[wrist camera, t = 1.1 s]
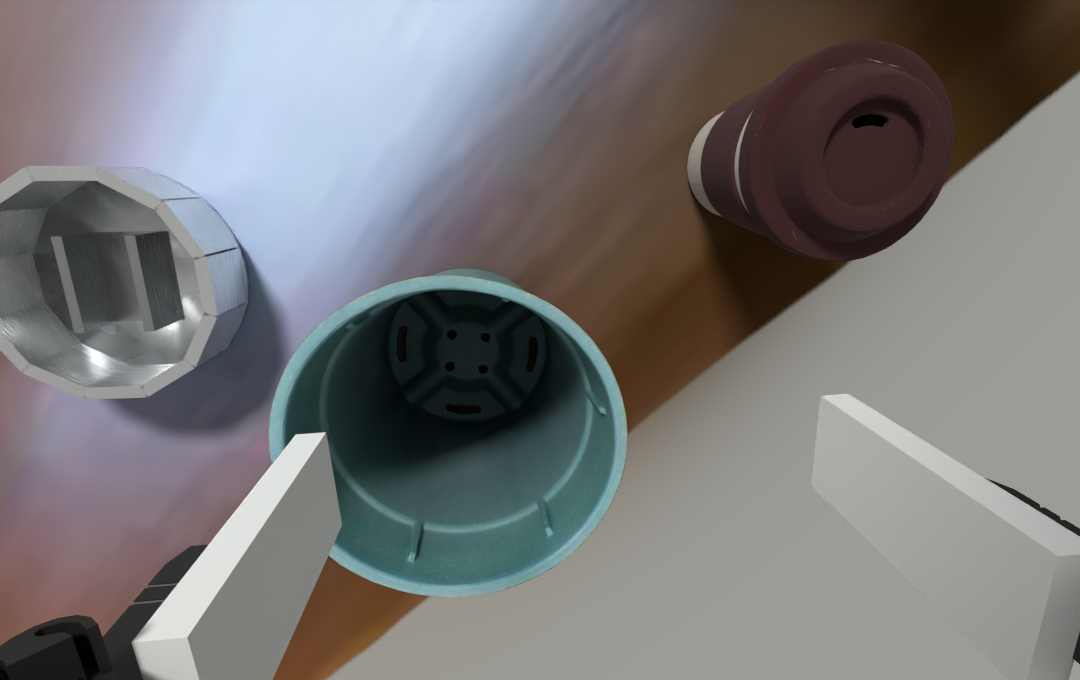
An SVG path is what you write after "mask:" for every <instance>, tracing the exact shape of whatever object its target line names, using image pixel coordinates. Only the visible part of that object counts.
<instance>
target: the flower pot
mask: <svg viewBox="0 0 1080 680" xmlns="http://www.w3.org/2000/svg"><path fill="white" fill-rule="evenodd" d="M401 326H405V327H406V328H407V330H408V331H407V336H406V344H405V353H406V360H405V361H404V362H400V361H399V360H398V358H397V336H398V331H399V328H400V327H401ZM449 330H455V331H456V333H457V336H456V338H454V339H449V338H448V337H447V332H448V331H449ZM483 333H488V334H490V335H491V339H490V340H489V341H487V342H485V341H483V340H482V339H481V335H482V334H483ZM532 337H535V338H536V339H537V346H538V352H537V360H536V364H535V367H534V369H533V371H531V372H529V371H527V370H526V366H527V363H528V358H529V340H530V338H532ZM447 362H453V363H454V365H455V367H454V369H453V370H452V371H447V370H446V369H445V364H446V363H447ZM481 365H486V366H487V367H488V371H487V372H486V373H484V374H483V373H480V372H479V370H478V368H479V367H480V366H481ZM447 404H452V405H459V406H480V408H481V412H479V413H470V414H460V413H455V412H452V411H448V410H446V405H447ZM323 432H326V434H327V440H328V446H329V452H330V457H331V463H332V469H333V475H334V481H335V486H336V492H337V498H338V504H339V510H340V515H341V521H342V526H341V529H340V531H339V533H338V535H337V537H336V540H335V542H334V544H333V546H332V549H331V551H330V553H329V556H330V557H331V558H333V559H334V560H335V561H336V562H338V563H339V564H340V565H342V566H344V567H345V568H347V569H349V570H350V571H352V572H354V573H356V574H358V575H360V576H362V577H364V578H366V579H368V580H370V581H372V582H375V583H378V584H381V585H383V586H386V587H389V588H393V589H396V590H400V591H404V592H408V593H413V594H419V595H427V596H440V597H460V596H474V595H482V594H488V593H492V592H497V591H501V590H505V589H508V588H511V587H513V586H516V585H519V584H521V583H523V582H526V581H529V580H531V579H533V578H535V577H537V576H539V575H540V574H542V573H544V572H546V571H548V570H550V569H551V568H553V567H554V566H556V565H557V564H559V563H560V562H561V561H563V560H564V559H565V558H567V557H568V556H569V555H571V554H572V553H573V552H574V551H575V550H576V549H577V548H579V547H580V546H581V544H582V543H583V542H584V541H585V540H586V538H587V537H588V536H589V535H590V534H591V533H592V532H593V531H594V529H595V528H596V527H597V525H598V524H599V523H600V521H601V520H602V518H603V517H604V515H605V513H606V512H607V510H608V508H609V507H610V505H611V502H612V500H613V499H614V496H615V494H616V492H617V489H618V487H619V484H620V481H621V479H622V475H623V471H624V466H625V461H626V456H627V443H628V442H627V421H626V413H625V408H624V403H623V399H622V395H621V392H620V389H619V386H618V383H617V381H616V378H615V376H614V374H613V372H612V369H611V367H610V366H609V364H608V362H607V360H606V359H605V357H604V355H603V354H602V353H601V351H600V350H599V348H598V347H597V345H596V344H595V343H594V342H593V340H592V339H591V338H590V337H589V336H588V335H587V334H586V333H585V332H584V330H583V329H582V328H581V327H580V326H578V325H577V324H576V323H575V322H574V321H573V320H572V319H571V318H569V317H568V316H567V315H565V314H564V313H563V312H562V311H560V310H559V309H557V308H556V307H554V306H553V305H551V304H550V303H548V302H546V301H544V300H542V299H540V298H538V297H536V296H534V295H532V294H530V293H528V292H525V291H524V290H523V289H522V288H521V287H519V286H518V285H517V284H515V283H514V282H512V281H511V280H509V279H507V278H505V277H503V276H501V275H499V274H496V273H493V272H489V271H485V270H479V269H467V268H465V269H452V270H446V271H442V272H439V273H436V274H433V275H431V276H427V277H420V278H413V279H409V280H404V281H401V282H397V283H394V284H390V285H387V286H384V287H382V288H379V289H377V290H374V291H372V292H369V293H367V294H365V295H363V296H361V297H359V298H357V299H355V300H354V301H352V302H350V303H349V304H347V305H345V306H343V307H342V308H340V309H339V310H337V311H336V312H335V313H333V314H332V315H330V316H329V317H328V318H326V319H325V320H324V321H323V322H322V323H320V324H319V325H318V326H317V327H316V328H315V329H314V330H313V331H312V332H311V334H310V335H309V336H308V337H307V338H306V339H305V340H304V341H303V342H302V343H301V344H300V346H299V347H298V349H297V350H296V351H295V353H294V354H293V356H292V357H291V359H290V361H289V362H288V364H287V366H286V368H285V370H284V372H283V375H282V377H281V379H280V381H279V384H278V387H277V390H276V392H275V396H274V400H273V403H272V408H271V414H270V422H269V449H270V458H271V462H272V464H273V463H274V461H275V460H276V459H277V458H278V456H279V455H280V454H281V453H282V451H283V450H284V449H285V448H286V446H287V445H288V444H289V442H290V441H291V440H292V439H293V437H294V436H295V435H296V434H310V433H323Z"/></svg>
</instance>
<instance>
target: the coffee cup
mask: <svg viewBox="0 0 1080 680" xmlns="http://www.w3.org/2000/svg"><path fill="white" fill-rule="evenodd" d="M954 140H955V136H954V117H953V112H952V108H951V103H950V100H949V97H948V95H947V92H946V90H945V88H944V86H943V84H942V82H941V80H940V78H939V77H938V76H937V74H936V73H935V71H934V70H933V69H932V68H931V67H930V66H929V65H928V64H927V63H926V62H925V61H924V60H923V59H922V58H921V57H920V56H918V55H917V54H916V53H914V52H912V51H911V50H909V49H907V48H905V47H903V46H901V45H898V44H895V43H891V42H887V41H881V40H873V39H860V40H852V41H847V42H843V43H839V44H836V45H833V46H831V47H828V48H825V49H823V50H820V51H818V52H816V53H813V54H811V55H809V56H807V57H805V58H803V59H801V60H800V61H798V62H797V63H795V64H793V65H792V66H791V67H789V68H788V69H787V70H786V71H784V72H783V73H782V74H781V75H780V76H779V77H778V78H777V79H776V80H775V81H774V82H773V83H771V84H769V85H767V86H765V87H763V88H762V89H760V90H758V91H756V92H754V93H752V94H750V95H748V96H746V97H744V98H742V99H740V100H739V101H737V102H736V103H734V104H733V105H732V106H730V107H729V108H728V109H727V110H726V111H724V112H722V113H720V114H719V115H717V116H715V117H714V118H713V119H711V120H710V121H709V122H708V123H707V124H706V125H705V126H704V127H703V128H702V129H701V130H700V132H699V133H698V135H697V136H696V138H695V140H694V142H693V144H692V146H691V149H690V152H689V157H688V164H687V172H688V180H689V183H690V187H691V189H692V191H693V193H694V195H695V197H696V198H697V200H698V201H699V202H700V203H701V205H702V206H704V207H705V208H706V209H707V210H709V211H710V212H712V213H714V214H716V215H718V216H721V217H723V218H725V219H726V220H727V221H729V222H731V223H733V224H735V225H737V226H740V227H742V228H745V229H748V230H750V231H753V232H756V233H759V234H761V235H764V236H766V237H767V238H768V239H769V240H771V241H772V242H773V243H775V244H776V245H778V246H779V247H781V248H782V249H784V250H786V251H788V252H791V253H793V254H796V255H799V256H803V257H807V258H811V259H815V260H820V261H828V262H843V261H851V260H856V259H860V258H864V257H867V256H870V255H872V254H875V253H877V252H879V251H881V250H884V249H886V248H887V247H889V246H891V245H892V244H894V243H895V242H897V241H898V240H899V239H901V238H902V237H903V236H905V235H906V234H907V233H908V232H909V231H911V229H913V228H914V227H915V226H916V225H917V224H918V223H919V222H920V221H921V219H922V218H923V217H924V215H925V214H926V213H927V211H928V210H929V209H930V207H931V206H932V205H933V203H934V202H935V200H936V198H937V197H938V195H939V193H940V191H941V188H942V186H943V184H944V182H945V180H946V177H947V174H948V171H949V168H950V164H951V160H952V155H953V148H954Z"/></svg>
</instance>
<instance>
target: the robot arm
mask: <svg viewBox="0 0 1080 680" xmlns="http://www.w3.org/2000/svg"><path fill="white" fill-rule="evenodd" d="M811 486H812V487H813V488H814V489H815V490H816V491H817V492H818V493H819V494H820V495H821V496H822V497H823V498H824V499H825V500H826V501H827V502H828V503H829V504H830V505H831V506H832V507H833V508H834V509H835V510H837V512H838V513H840V514H841V515H842V517H844V519H845V520H847V521H848V522H849V523H850V524H851V525H852V526H853V527H854V528H855V529H856V530H857V531H858V532H859V533H860V534H861V535H862V536H863V537H864V538H865V539H866V540H867V541H868V542H869V543H870V544H871V545H872V546H873V547H874V548H875V549H876V550H877V551H878V552H879V553H880V554H881V555H882V556H883V557H884V558H885V559H886V560H887V561H888V562H889V563H890V564H891V565H892V566H893V567H894V568H895V569H896V570H897V571H898V572H899V573H900V574H902V576H903V577H905V579H907V580H908V581H909V582H910V583H911V584H912V585H913V586H914V587H915V588H916V589H917V590H918V591H919V592H920V593H921V594H922V595H923V596H924V597H925V598H926V599H927V600H928V601H929V602H930V603H931V604H932V605H933V606H934V607H935V608H936V609H937V610H938V611H939V612H940V613H941V614H942V615H943V616H944V617H945V618H946V619H947V620H948V621H949V622H950V623H951V624H952V625H953V626H954V627H955V628H956V629H957V630H958V631H959V632H960V633H962V635H963V636H965V637H966V638H967V639H968V640H969V641H970V642H971V643H972V644H973V645H974V646H975V647H976V648H977V649H978V650H979V651H980V652H981V653H982V654H983V655H984V656H985V657H986V658H987V659H988V660H989V661H990V662H991V663H992V664H993V665H994V666H995V667H996V668H997V669H998V670H999V671H1000V672H1001V673H1002V674H1003V675H1004V676H1005V677H1006V678H1007V679H1008V680H1069V676H1070V673H1071V669H1072V666H1073V662H1074V660H1075V661H1077V662H1078V663H1079V664H1080V529H1079V528H1077V527H1076V526H1074V525H1073V524H1071V523H1069V522H1068V521H1066V520H1061V519H1060V517H1059V516H1058V515H1056V514H1054V513H1053V512H1051V511H1049V510H1048V509H1046V508H1040V505H1039V504H1038V503H1036V502H1035V501H1033V500H1031V499H1030V498H1028V497H1026V496H1025V495H1023V494H1021V493H1019V492H1018V491H1016V490H1014V489H1012V488H1009V487H1007V486H1004V485H1002V484H999V483H997V482H994V481H992V480H989V479H987V478H984V477H982V476H981V475H979V474H977V473H976V472H974V471H972V470H971V469H969V468H968V467H966V466H964V465H963V464H961V463H960V462H958V461H956V460H955V459H953V458H951V457H950V456H948V455H946V454H945V453H943V452H942V451H940V450H938V449H937V448H935V447H934V446H932V445H930V444H929V443H927V442H925V441H924V440H922V439H920V438H919V437H917V436H916V435H914V434H912V433H911V432H909V431H908V430H906V429H904V428H903V427H901V426H899V425H898V424H896V423H895V422H893V421H891V420H890V419H888V418H887V417H885V416H883V415H882V414H880V413H878V412H877V411H875V410H874V409H872V408H870V407H869V406H867V405H865V404H864V403H862V402H861V401H859V400H857V399H855V398H854V397H852V396H851V395H849V394H837V395H824V396H821V397H820V407H819V417H818V426H817V435H816V445H815V455H814V465H813V474H812V483H811ZM341 526H342V521H341V515H340V510H339V504H338V498H337V492H336V486H335V481H334V475H333V469H332V463H331V457H330V452H329V446H328V440H327V434H326V432H323V433H310V434H296V435H295V436H294V437H293V439H292V440H291V441H290V442H289V444H288V445H287V446H286V448H285V449H284V450H283V451H282V453H281V454H280V455H279V456H278V458H277V459H276V460H275V461H274V463H273V464H272V465H271V467H270V468H269V469H268V470H267V472H266V473H265V474H264V475H263V477H262V478H261V479H260V480H259V482H258V483H257V484H256V485H255V487H254V488H253V489H252V491H251V492H250V493H249V494H248V496H247V497H246V498H245V499H244V501H243V502H242V503H241V504H240V506H239V507H238V508H237V510H236V511H235V512H234V513H233V515H232V516H231V517H230V518H229V520H228V521H227V522H226V523H225V525H224V526H223V527H222V529H221V530H220V531H219V532H218V534H217V535H216V536H215V537H214V539H213V540H212V541H211V542H210V544H209V545H199V546H191V547H189V548H188V549H186V550H185V551H184V552H182V553H181V554H179V555H178V556H176V557H175V558H174V559H172V560H171V561H169V562H168V563H167V564H165V566H164V567H163V568H162V569H161V570H160V571H159V573H158V574H157V575H156V576H155V577H154V578H153V579H152V581H151V582H150V583H149V584H148V588H145V589H144V590H143V591H142V592H141V593H140V595H139V596H138V597H137V598H136V599H135V600H134V604H133V605H130V606H129V607H128V608H127V610H126V611H125V612H124V613H123V614H122V615H121V617H120V618H119V619H118V620H117V621H116V622H115V624H114V625H113V626H112V627H111V628H110V629H109V631H108V632H107V633H106V634H105V635H104V636H103V638H102V635H101V632H100V629H99V626H98V624H97V623H96V622H95V621H94V620H93V619H92V618H91V617H87V616H80V615H74V616H68V617H62V618H56V619H54V620H51V621H48V622H45V623H42V624H39V625H37V626H34V627H32V628H30V629H28V630H26V631H24V632H22V633H20V634H19V635H17V636H15V637H13V638H11V639H9V640H8V641H7V642H5V643H4V644H2V645H1V646H0V680H273V677H274V675H275V673H276V671H277V668H278V666H279V664H280V662H281V660H282V657H283V655H284V653H285V651H286V648H287V646H288V644H289V642H290V640H291V637H292V635H293V633H294V631H295V628H296V626H297V624H298V622H299V620H300V617H301V615H302V613H303V611H304V608H305V606H306V604H307V602H308V600H309V597H310V595H311V593H312V591H313V589H314V586H315V584H316V582H317V580H318V577H319V575H320V573H321V571H322V569H323V566H324V564H325V562H326V560H327V557H328V555H329V553H330V551H331V549H332V546H333V544H334V542H335V540H336V537H337V535H338V533H339V531H340V529H341Z"/></svg>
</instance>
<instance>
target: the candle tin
mask: <svg viewBox="0 0 1080 680" xmlns="http://www.w3.org/2000/svg"><path fill="white" fill-rule="evenodd" d="M248 299H249V279H248V271H247V266H246V262H245V258H244V256H243V253H242V250H241V247H240V245H239V243H238V241H237V239H236V237H235V235H234V234H233V232H232V231H231V229H230V228H229V226H228V225H227V223H226V222H225V221H224V219H223V218H222V217H221V216H220V215H219V213H218V212H217V211H216V210H215V209H214V208H213V207H212V206H211V205H210V204H209V203H208V202H206V201H205V200H204V199H203V198H202V197H201V196H199V195H198V194H196V193H195V192H194V191H192V190H191V189H189V188H187V187H185V186H184V185H182V184H180V183H179V182H176V181H174V180H172V179H170V178H167V177H165V176H162V175H159V174H156V173H154V172H152V171H150V170H148V169H146V168H141V167H115V166H27V167H24V168H22V169H21V170H19V171H18V172H16V173H15V174H14V175H12V176H11V177H9V178H8V179H6V180H5V181H3V182H2V183H0V350H1V351H2V353H3V354H4V355H5V356H6V357H7V358H8V359H9V360H10V361H11V362H12V363H13V364H14V365H15V366H16V367H17V368H18V369H19V370H20V371H21V372H22V371H24V373H23V374H25V375H28V376H30V377H33V378H35V379H37V380H40V381H42V382H44V383H47V384H49V385H51V386H54V387H56V388H59V389H61V390H63V391H66V392H68V393H70V394H73V395H75V396H77V397H80V398H82V399H85V398H86V400H87V399H117V398H146V397H149V396H150V395H152V394H154V393H155V392H157V391H159V390H160V389H162V388H163V387H165V386H167V385H168V384H170V383H172V382H173V381H175V380H176V379H178V378H180V377H181V376H183V375H185V374H186V373H188V372H189V371H191V370H193V369H194V368H196V367H198V366H199V365H201V364H202V363H204V362H206V361H207V360H209V359H210V358H212V357H214V356H215V355H217V354H219V353H220V352H222V351H223V350H225V349H227V347H228V346H229V344H230V342H231V340H232V338H233V337H234V336H235V334H236V333H237V331H238V329H239V327H240V325H241V324H242V321H243V318H244V316H245V313H246V309H247V304H248Z"/></svg>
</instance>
